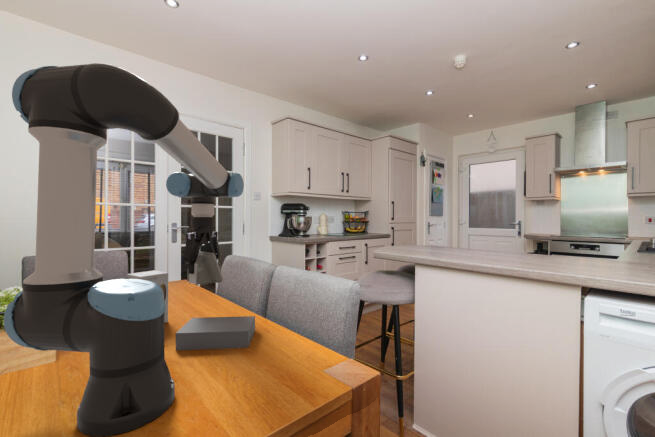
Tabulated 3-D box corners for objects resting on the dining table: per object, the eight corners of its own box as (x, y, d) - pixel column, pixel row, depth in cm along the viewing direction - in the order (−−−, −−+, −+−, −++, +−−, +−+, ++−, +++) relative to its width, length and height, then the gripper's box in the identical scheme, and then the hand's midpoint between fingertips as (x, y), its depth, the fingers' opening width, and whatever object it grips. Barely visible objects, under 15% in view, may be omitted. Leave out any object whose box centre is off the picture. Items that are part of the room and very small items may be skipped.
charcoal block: (248, 349, 82) (248, 330, 82) (175, 351, 80) (175, 333, 80) (255, 332, 94) (255, 316, 93) (192, 334, 92) (192, 317, 92)
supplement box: (138, 330, 93) (138, 277, 93) (125, 324, 99) (125, 273, 98) (169, 321, 101) (169, 272, 101) (155, 316, 106) (155, 269, 106)
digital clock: (224, 283, 102) (225, 252, 102) (197, 287, 96) (197, 254, 96) (208, 276, 115) (209, 248, 115) (183, 279, 109) (183, 250, 109)
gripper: (213, 216, 117) (213, 274, 117) (170, 216, 96) (170, 286, 96) (230, 216, 115) (229, 275, 115) (190, 216, 94) (189, 287, 94)
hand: (202, 280), depth 105 cm, fingers closed on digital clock, 9 cm apart
